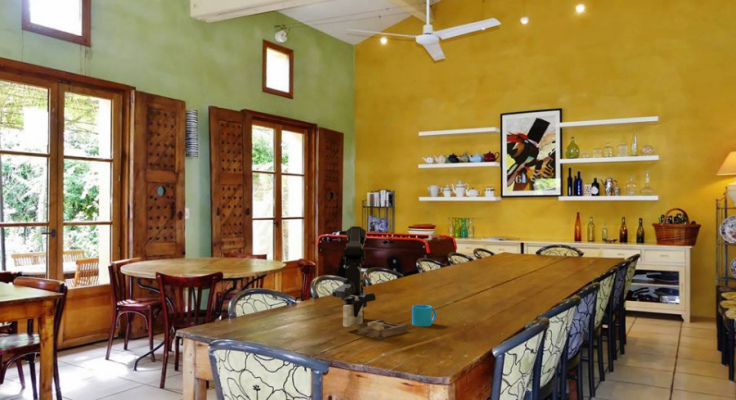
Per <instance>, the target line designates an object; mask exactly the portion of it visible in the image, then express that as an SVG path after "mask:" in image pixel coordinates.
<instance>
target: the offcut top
mask: <svg viewBox="0 0 736 400" xmlns="http://www.w3.org/2000/svg"><path fill="white" fill-rule="evenodd" d="M374 321H375V320H373V322H372V321H368V322H369V323H368V322H367V323H368V328H369V329H375V330H380V329H383V328H384V323H380V322H374Z"/></svg>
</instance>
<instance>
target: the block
mask: <svg viewBox="0 0 736 400" xmlns="http://www.w3.org/2000/svg"><path fill="white" fill-rule="evenodd" d="M363 310H364V307H363V305H362V307H361V309H360V311H359V313H358V316H357V317H354V304H349V305H346V304H345V305H343V307H342V326H343V327H345V328H348V327H353V326H358V325H359V324H363V321H364V320H363Z"/></svg>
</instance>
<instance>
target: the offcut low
mask: <svg viewBox="0 0 736 400" xmlns="http://www.w3.org/2000/svg"><path fill="white" fill-rule="evenodd" d="M365 329H369V328H368V327H365ZM369 330H374V331H378V332H380V335H381V330H384V328H383V329H380V330H375V329H369Z"/></svg>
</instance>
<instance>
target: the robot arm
mask: <svg viewBox="0 0 736 400" xmlns="http://www.w3.org/2000/svg"><path fill="white" fill-rule="evenodd" d="M346 241H348V242H347V243H346V244H345V245H346V247H345V248H344V249H343V250H344V251H343V265H345V264H347V265H346V269H345V271H344V275H345V278H346V279H344V280H343V283H342V285H340V286H338V287H337V288H334V289H333V291H332V297H335V298H337V299H338V298H340V300H341V301H343V302H344V303H345V305H349V304H354V317H357V316H358V313H359V311H360V309H361V307H362V305H363V308H366V307H367V306H368V302H373V301H376V294H375V293H374V292H368V291H366V292H365V291H364V289H365V288H364V287H363V286H362V283H364V279H362V265H363V264H364V262H366V251H365V248H364V246H365V241H367V230H366V229H364V228H363V227H362V226H358V225H357V226H356V225H354V226H353V225H352V226H349V228H348V229H347V230H346ZM364 317H365V313H364V309H363V321H364V320H365V318H364Z"/></svg>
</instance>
